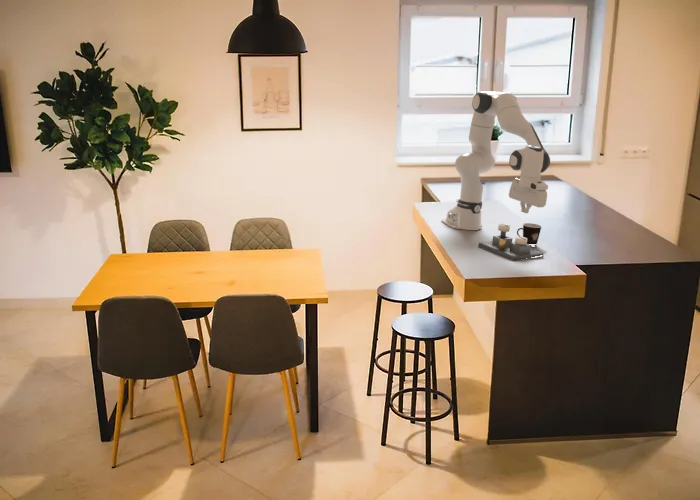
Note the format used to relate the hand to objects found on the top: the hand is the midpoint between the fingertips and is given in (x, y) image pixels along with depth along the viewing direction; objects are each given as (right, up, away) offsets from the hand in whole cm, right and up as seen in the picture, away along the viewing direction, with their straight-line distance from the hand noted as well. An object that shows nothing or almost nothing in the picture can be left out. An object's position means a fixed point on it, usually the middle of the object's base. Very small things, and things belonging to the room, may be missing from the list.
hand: (524, 212), depth 324 cm
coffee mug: (+7, -15, +25) cm, 30 cm away
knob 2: (-1, -17, +5) cm, 18 cm away
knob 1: (-7, -11, +14) cm, 19 cm away
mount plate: (-4, -18, +10) cm, 21 cm away
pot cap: (-9, -16, +7) cm, 20 cm away
